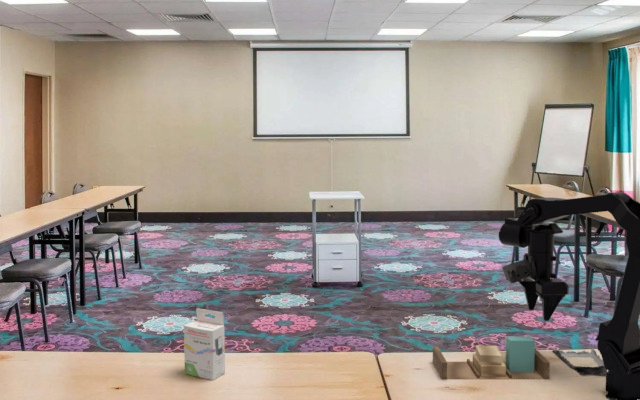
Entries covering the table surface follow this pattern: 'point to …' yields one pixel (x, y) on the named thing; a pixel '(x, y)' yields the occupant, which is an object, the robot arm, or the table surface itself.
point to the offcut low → (489, 369)
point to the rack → (469, 372)
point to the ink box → (205, 345)
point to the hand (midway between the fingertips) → (538, 315)
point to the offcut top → (488, 355)
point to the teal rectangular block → (520, 353)
